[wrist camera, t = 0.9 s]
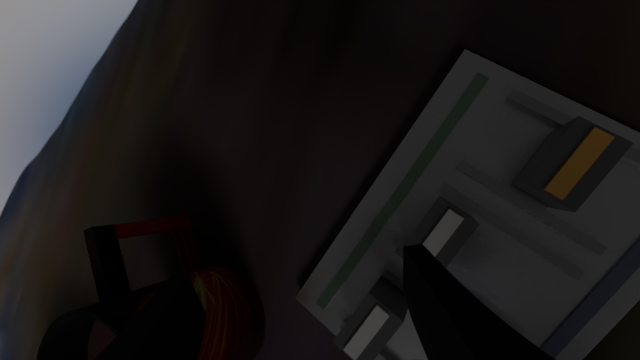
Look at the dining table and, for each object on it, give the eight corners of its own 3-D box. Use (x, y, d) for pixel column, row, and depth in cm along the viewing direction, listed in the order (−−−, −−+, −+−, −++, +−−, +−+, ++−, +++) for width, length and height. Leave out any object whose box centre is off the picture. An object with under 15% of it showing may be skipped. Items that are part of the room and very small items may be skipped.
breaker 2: (474, 218, 21) (480, 224, 17) (436, 265, 22) (434, 283, 18) (440, 195, 22) (438, 197, 18) (405, 242, 22) (396, 254, 18)
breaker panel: (729, 185, 18) (762, 184, 16) (478, 453, 22) (480, 478, 20) (464, 55, 23) (465, 44, 21) (301, 293, 27) (290, 301, 25)
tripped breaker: (596, 152, 19) (636, 142, 15) (550, 208, 19) (576, 213, 15) (553, 129, 19) (580, 115, 15) (510, 184, 20) (526, 183, 16)
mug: (195, 211, 31) (54, 223, 20) (286, 327, 27) (175, 423, 16) (143, 276, 33) (-9, 320, 22) (221, 392, 30) (84, 516, 18)
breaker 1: (411, 299, 22) (403, 323, 18) (378, 341, 23) (363, 373, 19) (381, 275, 23) (367, 293, 19) (350, 317, 24) (331, 342, 20)
